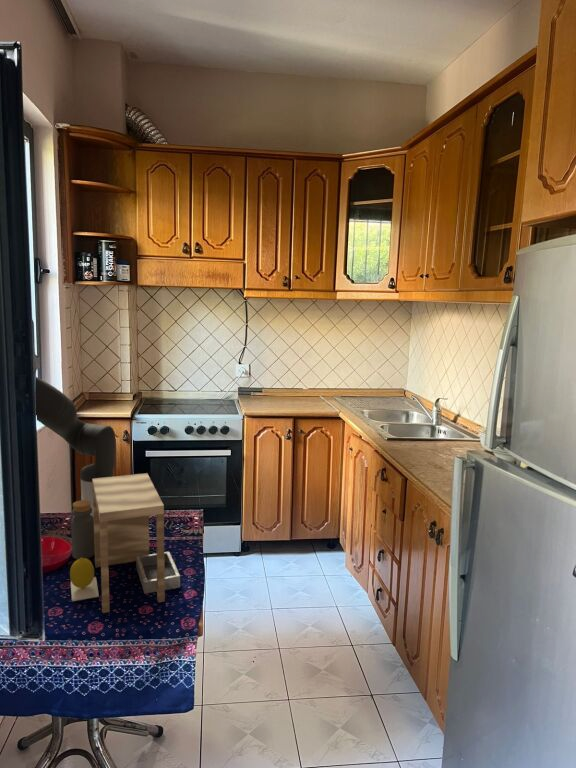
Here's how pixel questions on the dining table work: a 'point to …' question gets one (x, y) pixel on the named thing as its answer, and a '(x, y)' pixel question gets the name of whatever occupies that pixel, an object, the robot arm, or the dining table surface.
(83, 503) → the bottle
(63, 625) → the dining table surface
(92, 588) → the pad
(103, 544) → the small wooden table
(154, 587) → the open rectangular box
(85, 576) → the lemon
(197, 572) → the dining table surface
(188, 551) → the dining table surface
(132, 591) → the dining table surface
